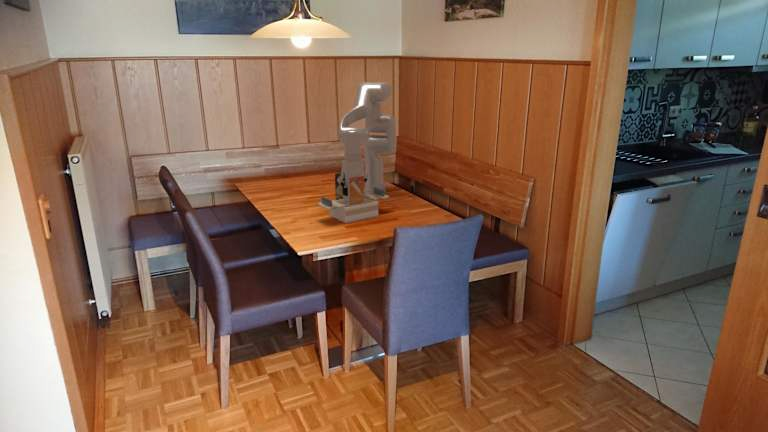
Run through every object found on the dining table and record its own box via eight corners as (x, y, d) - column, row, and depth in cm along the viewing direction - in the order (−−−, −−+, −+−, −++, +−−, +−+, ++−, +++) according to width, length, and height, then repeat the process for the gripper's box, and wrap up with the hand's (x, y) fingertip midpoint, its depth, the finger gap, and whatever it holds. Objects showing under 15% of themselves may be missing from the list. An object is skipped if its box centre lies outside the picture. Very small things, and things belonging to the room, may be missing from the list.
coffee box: (335, 204, 260) (333, 173, 255) (340, 201, 265) (339, 171, 261) (351, 206, 257) (351, 175, 252) (356, 203, 262) (355, 172, 258)
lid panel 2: (375, 200, 239) (375, 193, 238) (361, 195, 248) (361, 188, 247) (389, 197, 244) (389, 190, 243) (376, 192, 253) (376, 185, 252)
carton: (361, 209, 252) (361, 195, 250) (378, 216, 241) (378, 201, 239) (329, 215, 241) (329, 201, 239) (345, 223, 231) (345, 208, 228)
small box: (349, 205, 234) (349, 177, 231) (342, 202, 239) (342, 175, 236) (364, 202, 239) (364, 175, 235) (357, 199, 244) (357, 173, 240)
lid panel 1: (332, 201, 238) (332, 193, 237) (344, 206, 230) (344, 198, 229) (316, 204, 234) (315, 196, 233) (328, 209, 225) (328, 202, 224)
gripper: (363, 153, 241) (364, 189, 246) (332, 157, 231) (333, 195, 236) (373, 156, 235) (373, 192, 240) (340, 160, 225) (341, 198, 230)
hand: (353, 193), depth 238 cm, fingers closed on small box, 8 cm apart
